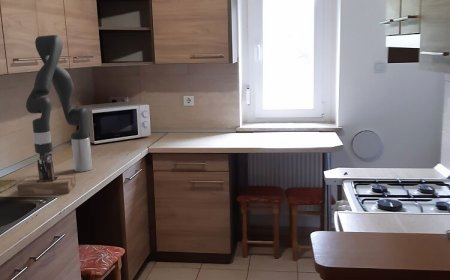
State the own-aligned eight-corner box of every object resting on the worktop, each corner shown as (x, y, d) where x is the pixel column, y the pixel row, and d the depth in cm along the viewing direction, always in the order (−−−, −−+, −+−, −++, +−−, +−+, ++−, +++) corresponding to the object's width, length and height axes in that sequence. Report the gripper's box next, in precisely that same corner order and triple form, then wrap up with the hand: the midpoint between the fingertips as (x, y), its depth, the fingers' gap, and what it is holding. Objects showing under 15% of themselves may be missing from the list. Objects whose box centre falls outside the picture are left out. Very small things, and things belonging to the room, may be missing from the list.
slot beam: (28, 187, 227) (27, 177, 226) (76, 184, 228) (75, 174, 227) (18, 196, 213) (17, 185, 212) (68, 193, 214) (67, 182, 214)
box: (56, 185, 223) (53, 160, 221) (53, 188, 219) (50, 162, 216) (42, 186, 223) (39, 161, 220) (39, 189, 218) (36, 163, 216)
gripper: (39, 139, 223) (43, 174, 226) (29, 145, 209) (33, 183, 212) (55, 138, 224) (59, 173, 227) (46, 144, 210) (51, 182, 213)
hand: (47, 178), depth 220 cm, fingers closed on box, 4 cm apart
